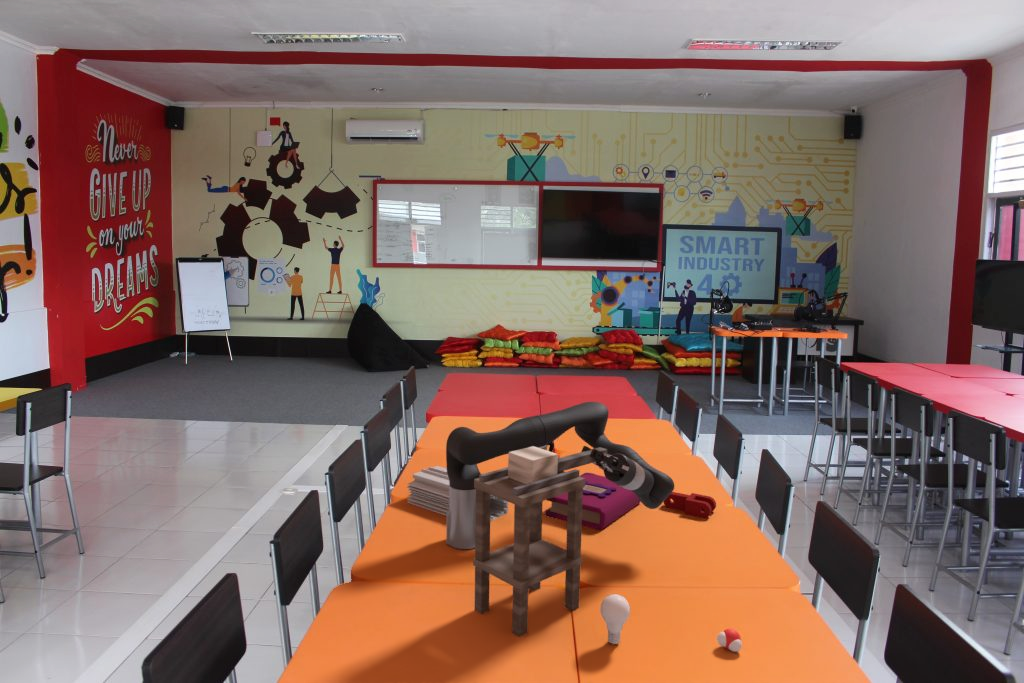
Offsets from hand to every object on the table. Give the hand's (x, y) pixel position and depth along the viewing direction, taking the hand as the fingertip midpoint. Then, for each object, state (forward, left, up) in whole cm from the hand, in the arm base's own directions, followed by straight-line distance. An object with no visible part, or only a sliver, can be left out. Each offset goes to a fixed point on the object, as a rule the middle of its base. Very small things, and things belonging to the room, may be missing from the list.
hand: (587, 451), depth 185 cm
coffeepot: (-31, +66, -35) cm, 81 cm away
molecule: (+36, -19, -35) cm, 54 cm away
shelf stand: (-10, -17, -35) cm, 40 cm away
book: (-7, +51, -36) cm, 63 cm away
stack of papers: (-49, +38, -35) cm, 72 cm away
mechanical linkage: (+21, +61, -35) cm, 74 cm away
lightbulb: (+12, -25, -35) cm, 45 cm away
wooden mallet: (-4, -7, -3) cm, 9 cm away
